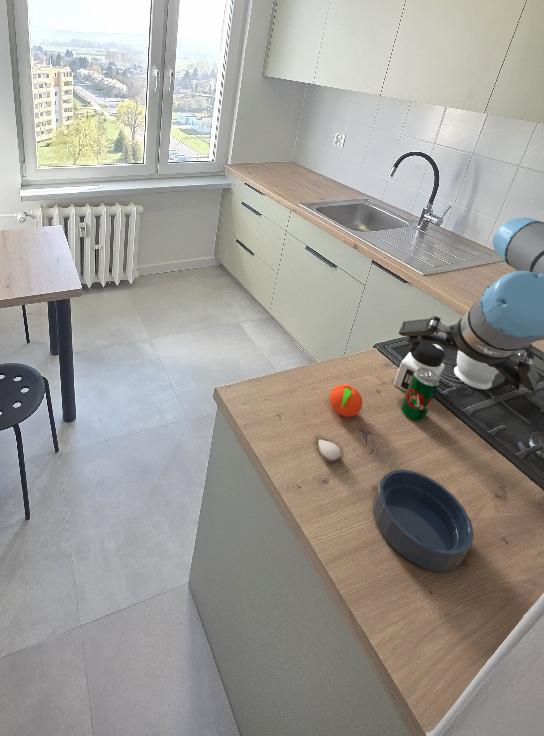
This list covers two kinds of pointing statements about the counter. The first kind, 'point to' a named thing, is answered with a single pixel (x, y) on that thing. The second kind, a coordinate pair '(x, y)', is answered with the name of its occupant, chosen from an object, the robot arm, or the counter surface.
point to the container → (420, 363)
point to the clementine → (346, 400)
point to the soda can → (420, 393)
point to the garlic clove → (329, 451)
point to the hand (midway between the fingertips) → (452, 363)
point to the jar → (474, 372)
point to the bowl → (422, 520)
